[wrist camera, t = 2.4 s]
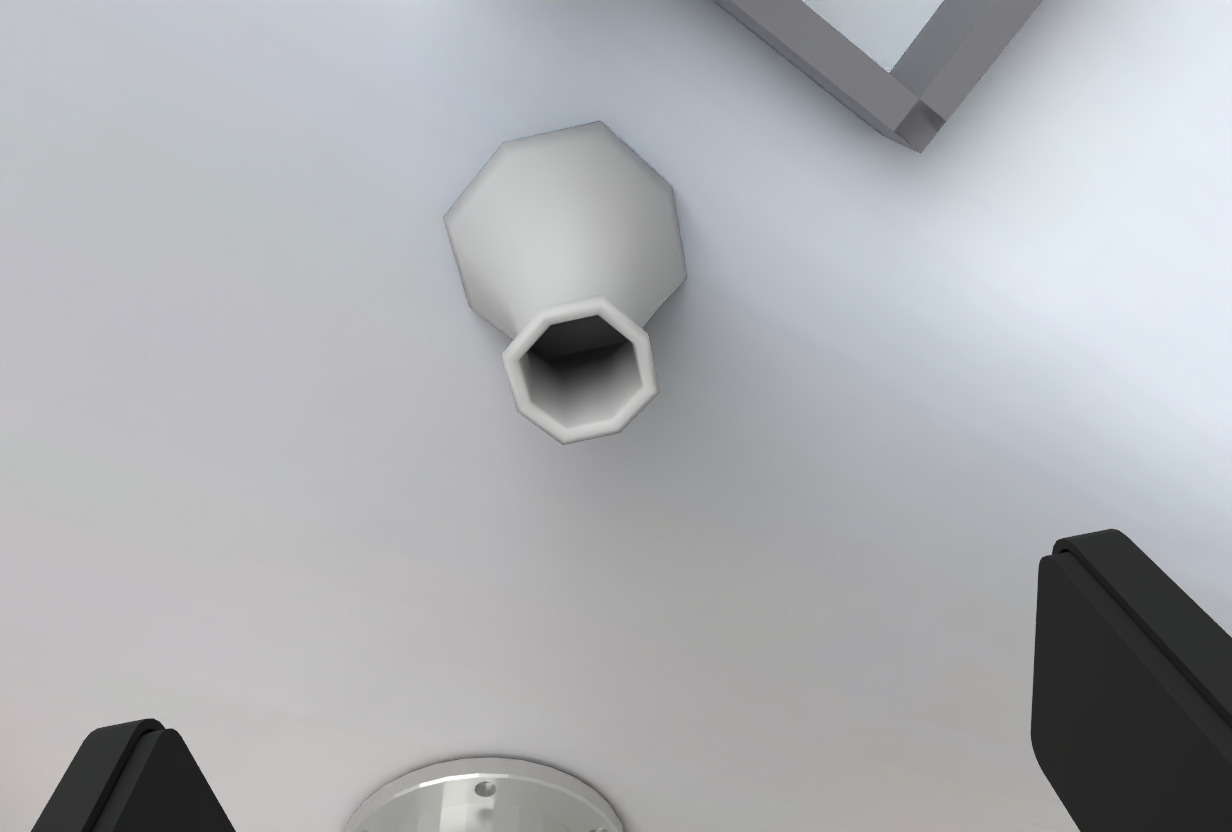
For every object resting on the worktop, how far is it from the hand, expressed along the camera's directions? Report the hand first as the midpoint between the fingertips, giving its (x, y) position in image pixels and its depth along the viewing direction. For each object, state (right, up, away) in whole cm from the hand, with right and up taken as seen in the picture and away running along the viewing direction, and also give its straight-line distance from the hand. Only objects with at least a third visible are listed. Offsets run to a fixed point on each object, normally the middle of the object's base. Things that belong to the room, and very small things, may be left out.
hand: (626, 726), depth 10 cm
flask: (-2, +9, +18) cm, 20 cm away
